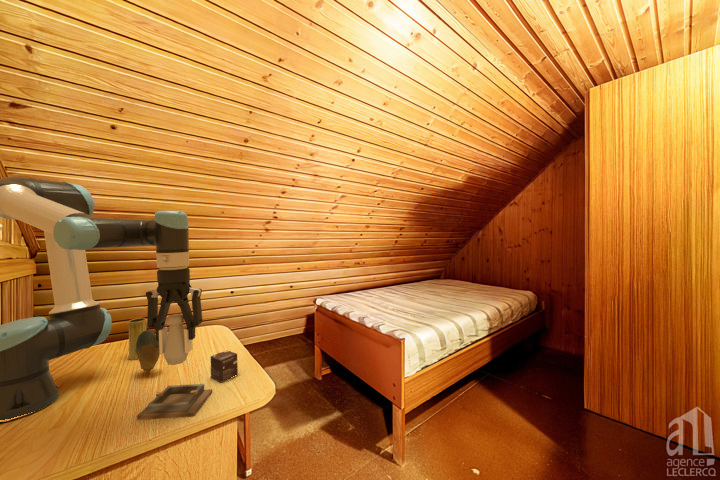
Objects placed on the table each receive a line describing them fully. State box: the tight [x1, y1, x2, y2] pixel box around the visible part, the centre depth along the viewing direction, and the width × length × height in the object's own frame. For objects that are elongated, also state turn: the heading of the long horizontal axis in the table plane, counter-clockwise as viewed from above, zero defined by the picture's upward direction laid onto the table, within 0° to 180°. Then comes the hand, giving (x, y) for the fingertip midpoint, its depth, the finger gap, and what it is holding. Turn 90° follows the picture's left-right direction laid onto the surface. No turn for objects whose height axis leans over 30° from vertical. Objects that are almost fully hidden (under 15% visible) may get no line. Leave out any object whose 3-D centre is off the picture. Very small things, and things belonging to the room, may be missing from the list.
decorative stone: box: [135, 329, 161, 375], centre depth 97 cm, size 10×6×15 cm, turn 65°
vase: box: [128, 317, 147, 361], centre depth 111 cm, size 6×6×14 cm
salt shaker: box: [163, 313, 189, 366], centre depth 79 cm, size 6×6×13 cm
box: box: [210, 350, 239, 383], centre depth 95 cm, size 6×6×7 cm
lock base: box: [136, 383, 213, 420], centre depth 80 cm, size 14×11×4 cm
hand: (176, 351), depth 79 cm, fingers closed on salt shaker, 6 cm apart
